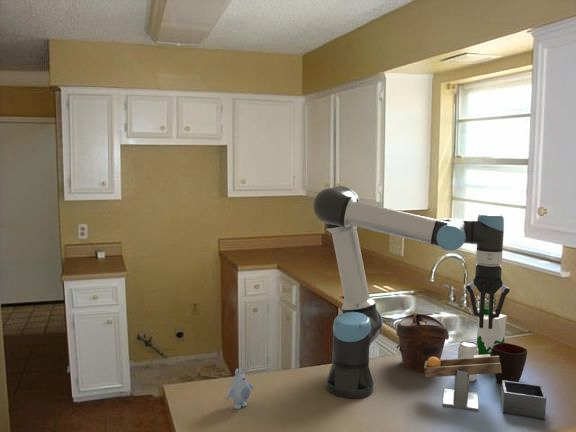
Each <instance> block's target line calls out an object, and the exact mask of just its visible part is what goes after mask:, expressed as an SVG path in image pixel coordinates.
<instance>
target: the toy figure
mask: <svg viewBox="0 0 576 432" xmlns="http://www.w3.org/2000/svg"><path fill="white" fill-rule="evenodd" d="M240 370H241V371H240ZM245 372H246V367H245V366H242V367H241V369H239V368H236V369H235V371H234V377H233V379H232V381H231V383H230V385H229V391H227V393H226V394H225V399H226V400H229V398H231V399H232V401H233V402H234V403H235V404H234V405H233V406H234V409H235V410H239V409H241V408H243V407H246V406H247V402H246V401H247V400H248V399H249V397H250V395H251V390H253V389H254V385H253V383H251V382H249V380H248V377H247V376H246V374H245Z"/></svg>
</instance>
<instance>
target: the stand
mask: <svg viewBox="0 0 576 432" xmlns="http://www.w3.org/2000/svg"><path fill="white" fill-rule="evenodd" d="M469 384H470V382H469V375H468V371H466V370H458V369H457V376H454V384H453V385H454V386H453V389H449V388H443V399H442V400H443V401H442V406H443V407H449V408H456V409H462V410H469V411H476V412H479V400H478V392H471V391H469Z"/></svg>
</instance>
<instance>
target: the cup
mask: <svg viewBox="0 0 576 432" xmlns="http://www.w3.org/2000/svg"><path fill="white" fill-rule="evenodd" d="M492 356H499V360H500V364H501V371H502V373H494V376H495V380H496V382H497V383H498V384H500V385H501V386H502V380H504V381H512V382H519V383H520V381H521V377H522V375H523V372H524V369H525V365H526V360H527V356H528V349H527V348H525V347H523V346H520V345H516V344H512V343H508V342H504V343H499V344H496V345H494V346H493V347H492Z"/></svg>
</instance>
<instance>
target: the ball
mask: <svg viewBox="0 0 576 432" xmlns="http://www.w3.org/2000/svg"><path fill="white" fill-rule="evenodd" d="M440 360H441V359H440ZM440 360H439V359H438V358H437V357H430V358H429V359H428V361H427V365H428V367H440V365H441V363H440Z"/></svg>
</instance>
